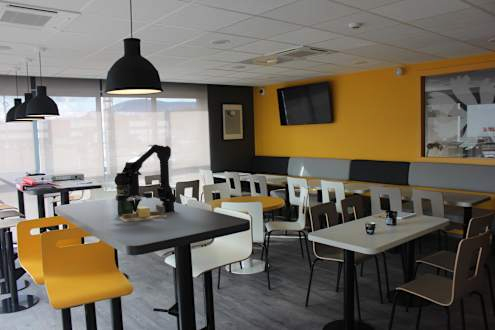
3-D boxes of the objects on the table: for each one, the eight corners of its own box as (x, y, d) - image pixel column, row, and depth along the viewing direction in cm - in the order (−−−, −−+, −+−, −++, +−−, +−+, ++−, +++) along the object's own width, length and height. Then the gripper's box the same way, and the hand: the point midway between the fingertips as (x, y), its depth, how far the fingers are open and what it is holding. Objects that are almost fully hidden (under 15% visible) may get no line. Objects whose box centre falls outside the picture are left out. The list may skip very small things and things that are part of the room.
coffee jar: (135, 214, 234) (133, 183, 233) (122, 216, 229) (120, 184, 228) (128, 212, 241) (127, 182, 240) (116, 214, 236) (114, 183, 235)
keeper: (146, 214, 226) (145, 206, 226) (150, 216, 219) (149, 208, 219) (135, 215, 223) (135, 207, 223) (139, 217, 216) (138, 209, 216)
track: (160, 214, 232) (159, 203, 232) (166, 217, 222) (166, 206, 221) (119, 218, 221) (119, 208, 221) (124, 222, 211) (123, 211, 210)
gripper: (146, 181, 230) (147, 208, 231) (113, 184, 221) (114, 211, 222) (151, 183, 220) (153, 210, 221) (117, 185, 211) (118, 214, 212)
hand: (134, 212), depth 219 cm, fingers closed
